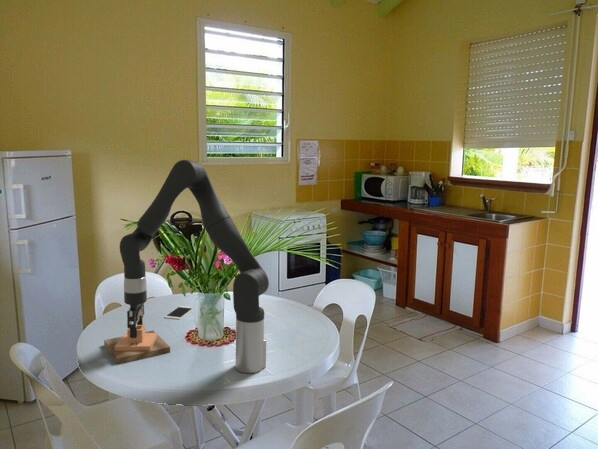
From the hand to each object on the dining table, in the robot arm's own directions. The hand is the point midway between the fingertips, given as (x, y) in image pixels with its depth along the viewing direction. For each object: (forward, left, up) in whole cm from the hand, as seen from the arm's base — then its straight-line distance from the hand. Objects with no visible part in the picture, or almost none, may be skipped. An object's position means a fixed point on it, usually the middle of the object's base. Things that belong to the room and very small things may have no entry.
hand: (136, 333), depth 169 cm
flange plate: (0, 0, -4) cm, 4 cm away
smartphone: (-27, -28, -7) cm, 39 cm away
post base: (0, 0, -6) cm, 6 cm away
